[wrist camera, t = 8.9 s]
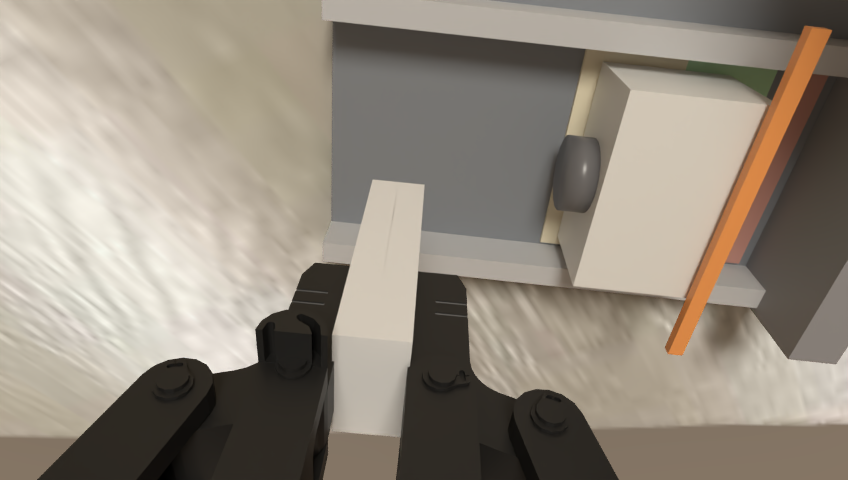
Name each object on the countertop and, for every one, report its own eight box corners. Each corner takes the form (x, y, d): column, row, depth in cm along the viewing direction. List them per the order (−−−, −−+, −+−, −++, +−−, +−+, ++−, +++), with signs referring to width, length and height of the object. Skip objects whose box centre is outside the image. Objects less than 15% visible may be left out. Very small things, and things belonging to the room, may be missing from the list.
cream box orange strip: (526, 276, 27) (537, 339, 23) (593, -12, 20) (627, 7, 16) (649, 290, 27) (682, 355, 23) (758, 7, 20) (832, 30, 16)
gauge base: (335, 250, 28) (307, 326, 23) (338, -58, 21) (299, -48, 16) (757, 295, 28) (824, 381, 23) (908, 6, 21) (1055, 35, 16)
